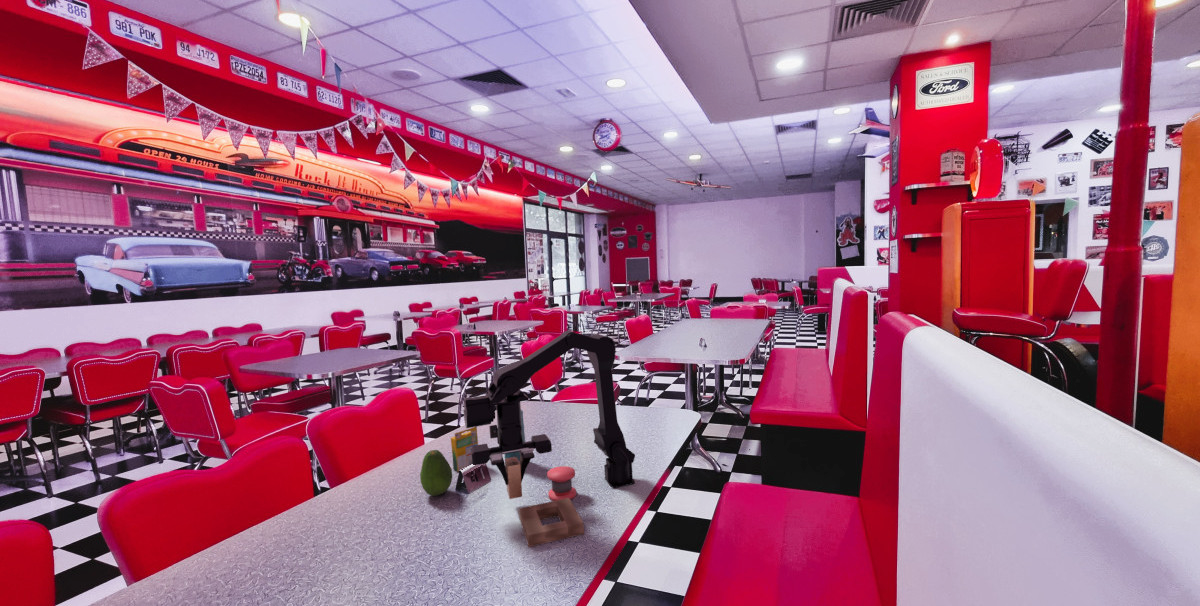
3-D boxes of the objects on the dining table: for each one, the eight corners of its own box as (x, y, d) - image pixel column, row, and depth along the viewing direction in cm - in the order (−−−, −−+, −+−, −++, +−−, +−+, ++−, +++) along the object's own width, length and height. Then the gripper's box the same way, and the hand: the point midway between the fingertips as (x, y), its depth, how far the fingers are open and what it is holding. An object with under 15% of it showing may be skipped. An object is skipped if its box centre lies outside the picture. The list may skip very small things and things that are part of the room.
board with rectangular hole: (569, 507, 114) (568, 497, 114) (583, 533, 103) (583, 522, 102) (519, 518, 110) (518, 508, 110) (528, 547, 99) (528, 535, 99)
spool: (572, 486, 125) (570, 464, 124) (579, 498, 118) (578, 475, 118) (546, 491, 123) (544, 469, 122) (552, 504, 116) (550, 480, 116)
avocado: (415, 498, 123) (411, 453, 122) (437, 485, 130) (434, 442, 129) (438, 504, 119) (434, 457, 118) (460, 490, 126) (457, 446, 125)
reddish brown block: (518, 487, 118) (516, 456, 118) (522, 496, 114) (520, 464, 113) (506, 490, 117) (504, 458, 117) (509, 499, 113) (507, 466, 112)
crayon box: (475, 461, 145) (472, 424, 144) (480, 464, 143) (477, 426, 142) (452, 469, 140) (449, 431, 139) (457, 472, 137) (454, 433, 136)
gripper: (540, 406, 125) (544, 463, 126) (467, 416, 119) (471, 476, 120) (550, 418, 114) (554, 480, 115) (470, 430, 108) (475, 496, 109)
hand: (513, 483), depth 115 cm, fingers closed on reddish brown block, 3 cm apart
